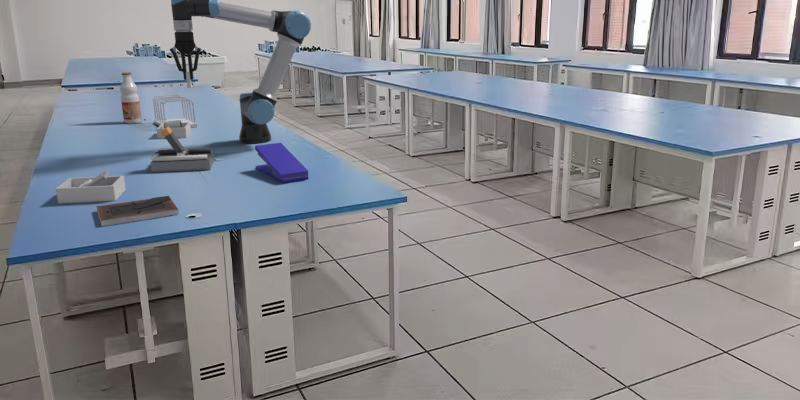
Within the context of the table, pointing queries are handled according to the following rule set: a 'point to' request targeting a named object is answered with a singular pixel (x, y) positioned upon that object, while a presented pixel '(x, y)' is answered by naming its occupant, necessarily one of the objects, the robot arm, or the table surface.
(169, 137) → the lever
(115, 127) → the table surface
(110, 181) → the tray
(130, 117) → the fruit juice
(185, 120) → the file sorter
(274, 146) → the stapler
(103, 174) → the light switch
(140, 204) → the picture frame
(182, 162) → the breaker panel
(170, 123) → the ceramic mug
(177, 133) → the mug tray
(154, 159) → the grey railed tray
